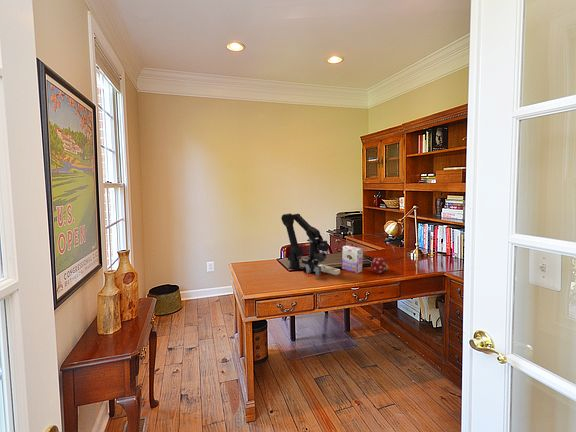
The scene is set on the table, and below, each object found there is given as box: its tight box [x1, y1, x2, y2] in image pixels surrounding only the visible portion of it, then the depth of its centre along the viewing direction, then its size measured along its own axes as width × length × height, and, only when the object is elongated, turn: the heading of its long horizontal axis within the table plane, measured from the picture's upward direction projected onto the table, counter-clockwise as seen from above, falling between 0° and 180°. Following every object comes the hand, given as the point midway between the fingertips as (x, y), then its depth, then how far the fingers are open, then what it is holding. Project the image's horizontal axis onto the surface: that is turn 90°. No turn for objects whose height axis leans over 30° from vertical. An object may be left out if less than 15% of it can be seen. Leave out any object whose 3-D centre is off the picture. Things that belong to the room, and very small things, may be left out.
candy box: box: [341, 244, 364, 274], centre depth 223 cm, size 14×6×16 cm, turn 41°
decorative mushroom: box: [370, 256, 389, 274], centre depth 222 cm, size 11×11×15 cm
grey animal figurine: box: [305, 264, 322, 277], centre depth 217 cm, size 11×3×6 cm, turn 48°
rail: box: [317, 264, 341, 276], centre depth 221 cm, size 16×5×3 cm, turn 48°
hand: (313, 271), depth 217 cm, fingers closed on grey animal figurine, 3 cm apart
